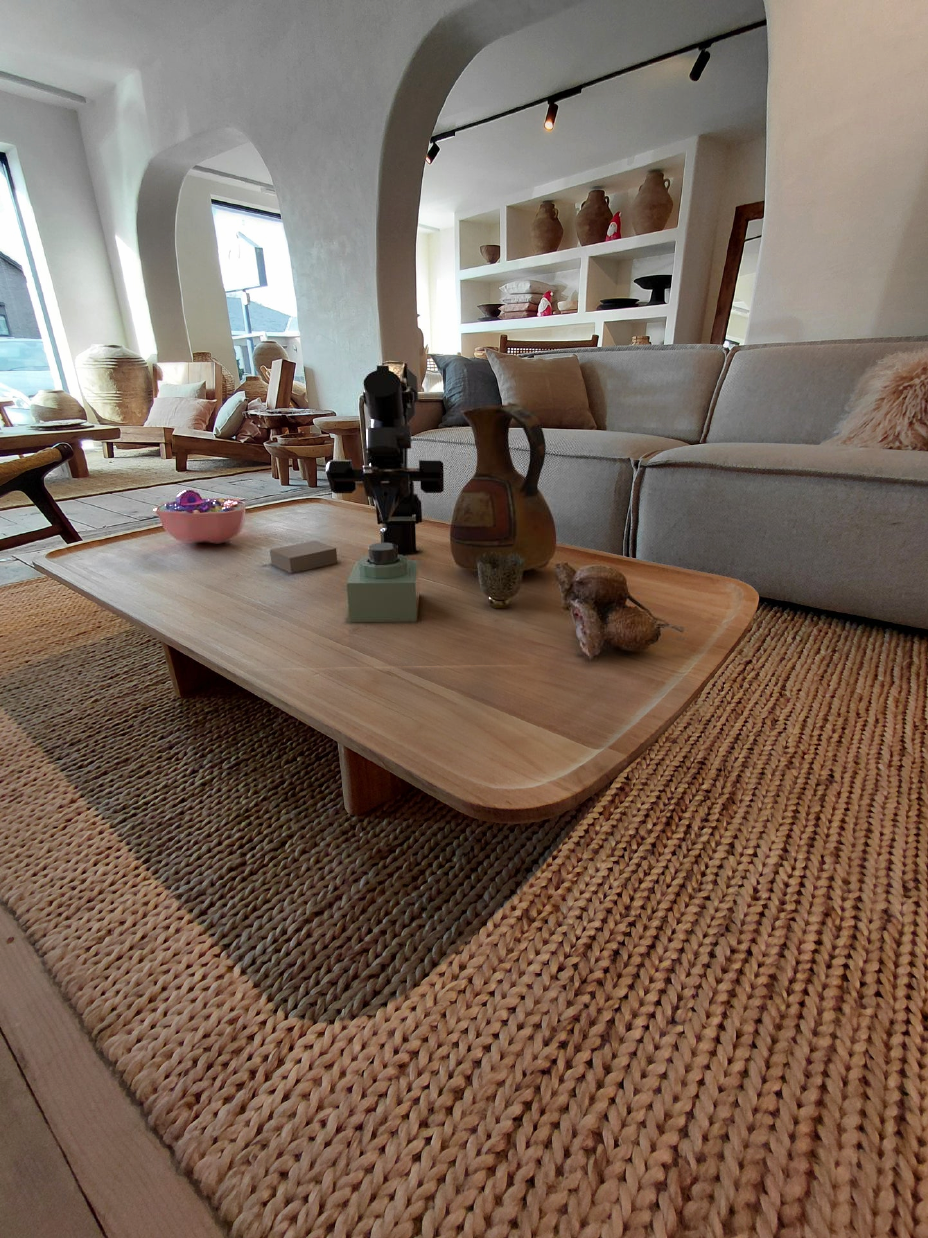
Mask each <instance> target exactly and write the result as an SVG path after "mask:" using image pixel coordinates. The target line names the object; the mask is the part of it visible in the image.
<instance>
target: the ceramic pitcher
mask: <svg viewBox="0 0 928 1238" xmlns="http://www.w3.org/2000/svg"><path fill="white" fill-rule="evenodd" d="M459 413H460V415H461V416H462V417H463V418H464V419H465V420H466V422H467V423H468V425H469V426H470V428H471V431H472V434H473V438H474V445H475V449H476V466H475V472H474V474H473V476H472V477H471V478H470V479H469V480H468V481H467V483H466V484H465V485H464V486H463V488H462V489H461V491H460V493H459V495H458V497H457V499H456V500H455V505H454V509H453V512H452V517H451V523H450V530H449V543H450V550H451V555H452V558H453V561H454V563H455V564H456V565H457V566H458V567H460V568H462V569H465V570H468V571H473V572H478V566H477V557H478V558H479V555H481V557H482V558H483V555H484V553H486V555H487V556H489V554H490V553H491V552H492V551H493V552H495V554H496V555H497V554H498V553H499V552H500V553H501V556H502V557H507V558H508V556H509V554H510V553H512V554H513V555H514V556H515V555H516V554H519V555H520V557H521V559H522V558H523V557H524V559H525V563H524V568H523V572H524V571H530V570H533V569H538V568H539V569H542V568H545V567H547V566H548V565H549V564H550V561H551V560H552V559H553V558H554V555H555V553H556V548H557V532H556V531H557V530H556V525H555V520H554V519H555V518H554V517H553V514H552V512H551V509H550V506H549V505H548V502H547V500H546V499H545V497H544V495H543V494H542V492H541V490H540V489H539V487H538V485H539V481H540V477H541V474H542V470H543V468H544V467H543V466H544V464H545V459H546V452H547V451H546V450H547V446H546V445H547V444H546V439H545V434H544V430H543V427H542V425H541V422H540V421H539V418H538V417H537V416H536V415H535V414H534V413H532V412H531V411H530V410H529V409H528V408H527V407H525V406H522V405H520V404H518V403H513V402H508V403H507V404H500V405H499V404H498V405H497V404H494V405H487V406H479V407H475V408H471V409H466V410H465V409H464V410H463V409H462V410H460V412H459ZM512 420H514V421H516V422H517V424H519V426H520V427H521V428H522V430H523V432H524V434H525V436H526V439H527V442H528V446H529V462H528V467H527V471H526V475H523V474H521V473H520V472H519V471H517V469H516V468H515V465H514V463H513V459H512V456H511V451H510V443H509V442H510V441H509V432H510V427H511V423H512Z"/></svg>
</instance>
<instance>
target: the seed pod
mask: <svg viewBox="0 0 928 1238" xmlns="http://www.w3.org/2000/svg"><path fill="white" fill-rule="evenodd" d="M554 570H555V575H554V576H555V577H556V578H555V579H556V580H555V582H556V583H557V585H558V587H559V590H560V594H561V609H562V610H563V611H564V612H569V613H570V617H571V619H572V621H573V625H574V629H575V635H576V637H577V639H578V641H579V647H580V648H581V652H583V653H585V654H586V655H587V656H588V658H589V661H591V660H592V659H593V657H594V656H598V655H599V654H600V653H601V651H602V648H603V646H604V644H605V642H606V643H609V644H610V645H612V646H615V647H617V648H619V650H622V651H624V652H625V651H633V652H634V653H636V652H638V651H640V652H641V651H644V650H647V649H649V647H650V646H653V645H654V644H655V643H658V641H659V638H660V636H662V632H661V629H666V628H671V629H674V630H675V631H678V632H679V633H682V634H684V632H685V627H683V626H677V625H674V624H672V623H670V622H668V621H666V620H665V619H663V618H660V617H657V616H655V615H653V613H652V612H651V611H650V610H649V609H648V608H647V607H645V606H644V605H643V604H642V603H640V602H639V601H638V600H636V599H635V598H634V597H633V595H631V592H630V591H629V587H628V585H627V584H628V582H627V578H626V576H625V575H624V574H623V572H622V571H621V570H619V569H617V568H614V567H612V566H609V565H607V564H600V563H599V564H589V565H583V566H582V567H580V568H579V569H577V570H576V569H575V568H573V566H570V565H569V562H560V563H555V568H554ZM627 601H630V602H631V603H632V604H634V605H635V606H630V605H629V606H628V605H627V604H626V603H627ZM639 608H640V609H639ZM658 622H661V623H658Z"/></svg>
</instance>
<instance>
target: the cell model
mask: <svg viewBox="0 0 928 1238" xmlns="http://www.w3.org/2000/svg"><path fill="white" fill-rule="evenodd" d="M246 509H247V503H246V502H245V501H243V500H240V499H237V498H213V497H212V498H202V496H201V495H200V493H199V492H197V491H195V490H192V489H186V490H183V491H182V492H180V493H179V494H178V495H177V496H176V498H175V500H174V501H171V502H167V503H163V504H161V505H158V506H157V507H156V508H154V509H153V511H154V513H155V514H156V515H157V517H158V518H159V520H160V523H161V527H162V528H163V529H164V530H165V531H166V532H167V533H168V534H169V535H170V536H171V537H172V538H173V539H175V540H176V541H179V542H181V543H185V544H208V543H211V544H217V545H218V544H223V543H226V542H227V541H231V540H233V539H234V538H236V537H238V536H239V535H240V534H241V532H242V531H243V529H244V526H245V523H246V517H247V516H246Z"/></svg>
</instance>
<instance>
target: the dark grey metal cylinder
mask: <svg viewBox="0 0 928 1238" xmlns="http://www.w3.org/2000/svg"><path fill="white" fill-rule="evenodd" d="M367 550H368V555H369V563H370V564H375V565H388V564H394V563H397V562H398V546H397V545H396V544H393V543H381V542H376V543H371V544H370V545H369V546H368V549H367Z"/></svg>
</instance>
